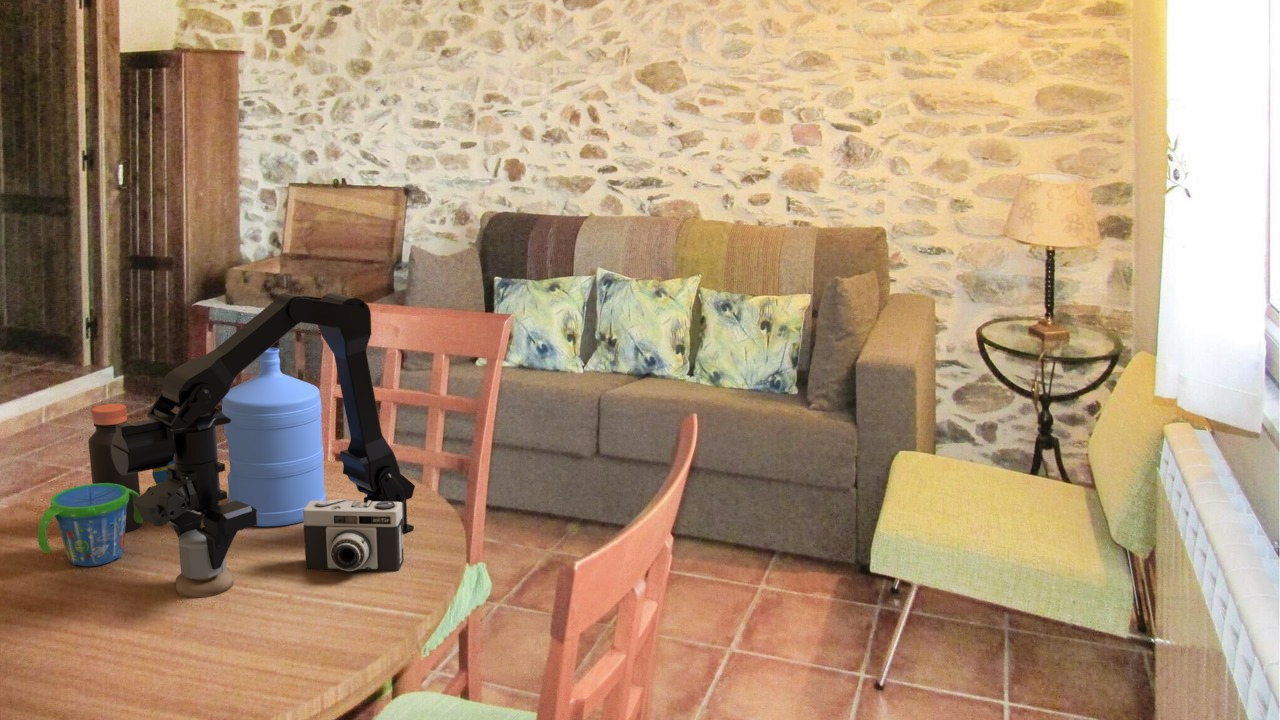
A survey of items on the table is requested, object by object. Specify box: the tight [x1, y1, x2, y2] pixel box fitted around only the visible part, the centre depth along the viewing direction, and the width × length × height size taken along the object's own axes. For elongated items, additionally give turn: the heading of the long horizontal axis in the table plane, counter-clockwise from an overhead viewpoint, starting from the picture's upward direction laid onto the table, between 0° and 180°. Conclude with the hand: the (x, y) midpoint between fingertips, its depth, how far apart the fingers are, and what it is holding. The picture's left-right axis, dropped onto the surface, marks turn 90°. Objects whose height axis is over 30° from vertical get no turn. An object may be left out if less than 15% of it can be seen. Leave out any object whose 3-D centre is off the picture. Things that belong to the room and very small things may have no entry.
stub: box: [175, 566, 234, 599], centre depth 158 cm, size 8×8×5 cm
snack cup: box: [37, 483, 144, 567], centre depth 166 cm, size 16×10×10 cm
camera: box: [303, 498, 405, 573], centre depth 164 cm, size 14×8×10 cm, turn 90°
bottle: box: [87, 403, 143, 533], centre depth 177 cm, size 7×7×20 cm
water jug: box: [221, 347, 327, 528], centre depth 185 cm, size 16×16×28 cm
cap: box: [177, 529, 227, 579], centre depth 158 cm, size 6×6×5 cm
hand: (203, 563), depth 158 cm, fingers closed on cap, 6 cm apart
